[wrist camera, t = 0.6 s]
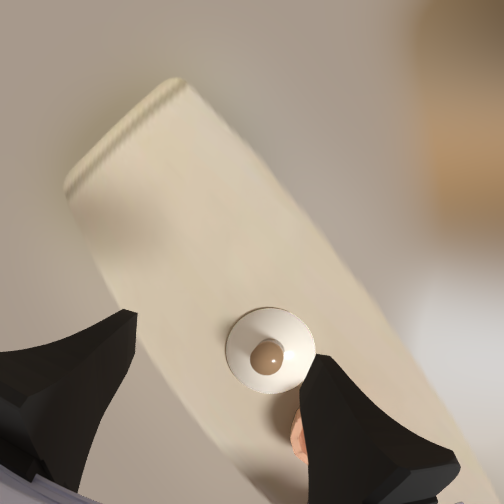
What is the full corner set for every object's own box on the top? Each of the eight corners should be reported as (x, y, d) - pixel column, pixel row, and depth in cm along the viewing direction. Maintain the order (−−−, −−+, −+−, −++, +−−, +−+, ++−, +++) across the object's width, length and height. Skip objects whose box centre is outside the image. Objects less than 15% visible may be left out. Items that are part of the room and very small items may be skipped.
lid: (324, 380, 30) (326, 392, 26) (240, 399, 31) (232, 412, 27) (302, 297, 31) (301, 299, 27) (217, 320, 32) (206, 324, 29)
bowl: (370, 443, 28) (375, 456, 25) (301, 461, 29) (300, 475, 26) (358, 383, 29) (363, 392, 26) (284, 403, 30) (282, 414, 27)
